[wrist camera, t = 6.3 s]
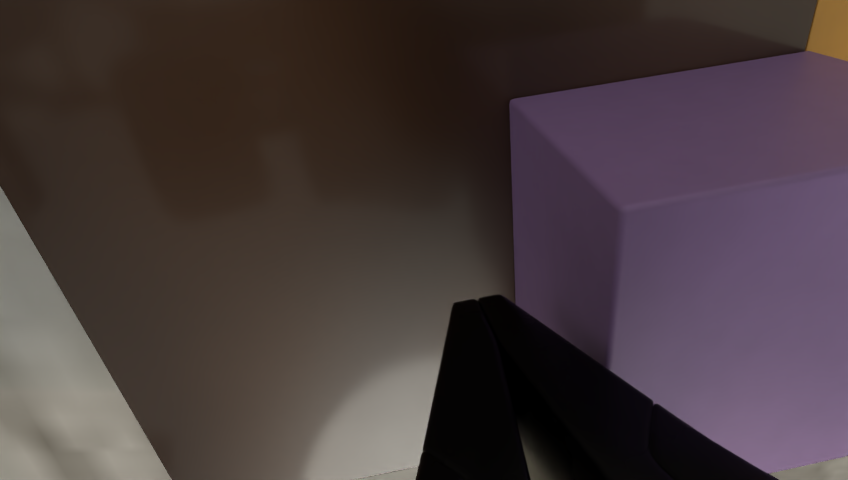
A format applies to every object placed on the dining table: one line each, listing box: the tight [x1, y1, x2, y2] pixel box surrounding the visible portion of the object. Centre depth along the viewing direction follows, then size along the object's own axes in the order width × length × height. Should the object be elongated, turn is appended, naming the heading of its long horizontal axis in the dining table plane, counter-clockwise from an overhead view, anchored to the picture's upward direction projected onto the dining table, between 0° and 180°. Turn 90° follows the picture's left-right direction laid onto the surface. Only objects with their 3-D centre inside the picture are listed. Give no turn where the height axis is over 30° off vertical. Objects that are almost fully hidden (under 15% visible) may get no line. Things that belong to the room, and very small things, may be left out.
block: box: [509, 51, 848, 474], centre depth 10 cm, size 6×6×4 cm
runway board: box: [0, 0, 817, 480], centre depth 11 cm, size 15×14×1 cm
